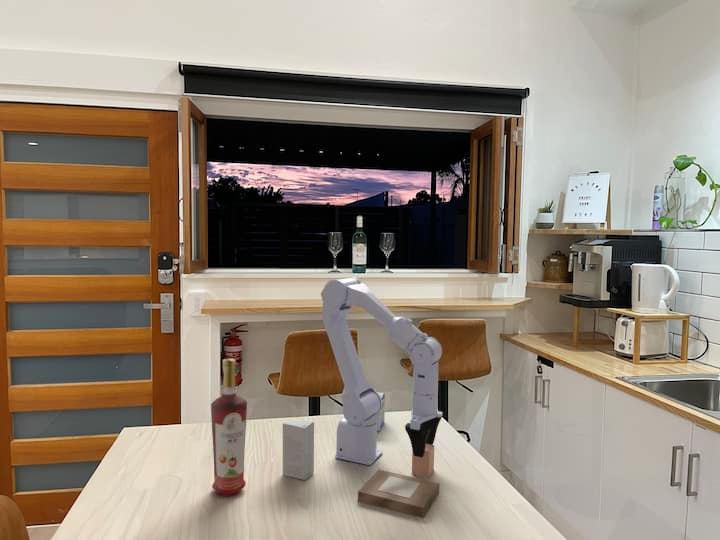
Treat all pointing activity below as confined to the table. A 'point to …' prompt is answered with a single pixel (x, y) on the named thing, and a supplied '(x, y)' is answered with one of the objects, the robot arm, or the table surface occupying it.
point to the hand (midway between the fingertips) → (423, 449)
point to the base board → (399, 492)
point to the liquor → (229, 435)
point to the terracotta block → (424, 462)
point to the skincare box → (298, 448)
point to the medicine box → (381, 412)
